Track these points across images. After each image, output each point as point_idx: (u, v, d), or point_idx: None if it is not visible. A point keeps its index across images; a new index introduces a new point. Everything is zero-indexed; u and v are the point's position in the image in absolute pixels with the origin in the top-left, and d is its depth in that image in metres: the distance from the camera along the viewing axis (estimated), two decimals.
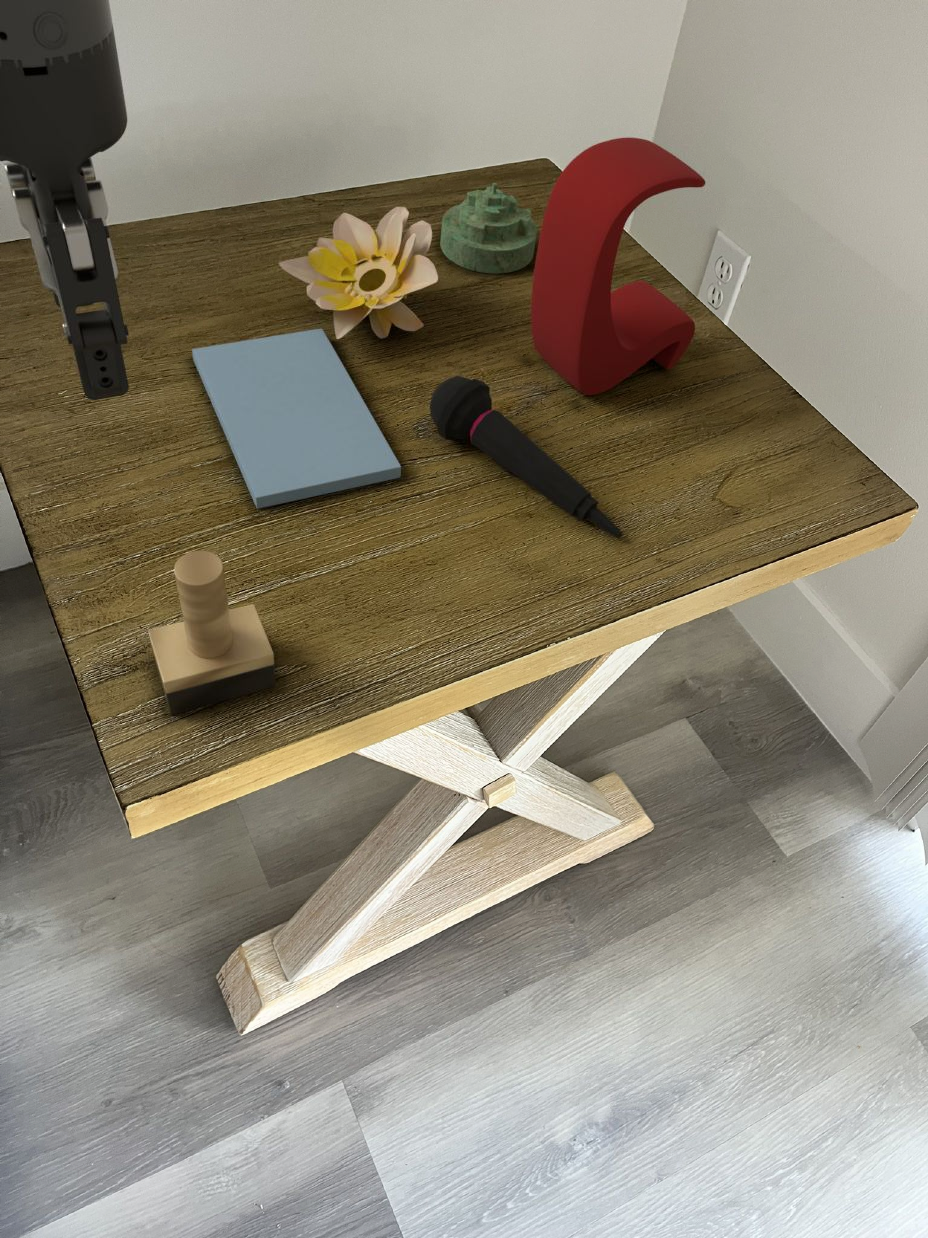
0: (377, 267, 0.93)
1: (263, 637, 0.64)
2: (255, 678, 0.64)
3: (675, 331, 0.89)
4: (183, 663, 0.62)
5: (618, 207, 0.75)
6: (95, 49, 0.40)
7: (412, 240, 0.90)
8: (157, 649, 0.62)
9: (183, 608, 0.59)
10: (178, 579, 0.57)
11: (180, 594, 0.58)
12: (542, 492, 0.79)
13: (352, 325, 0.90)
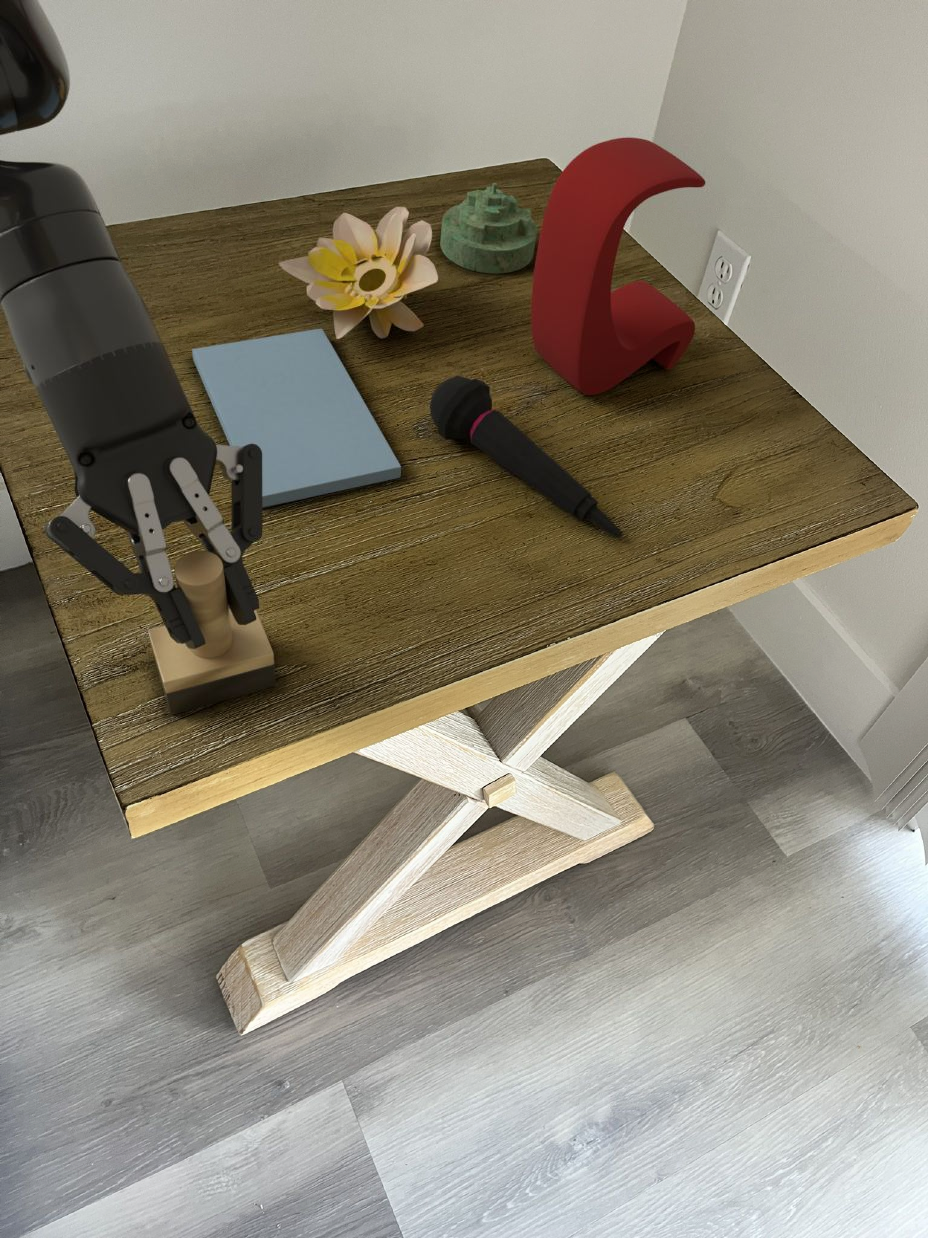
0: (377, 267, 0.93)
1: (263, 637, 0.64)
2: (255, 678, 0.64)
3: (675, 331, 0.89)
4: (183, 663, 0.62)
5: (618, 207, 0.75)
6: None
7: (412, 240, 0.90)
8: (157, 649, 0.62)
9: None
10: (178, 579, 0.57)
11: None
12: (542, 492, 0.79)
13: (352, 325, 0.90)
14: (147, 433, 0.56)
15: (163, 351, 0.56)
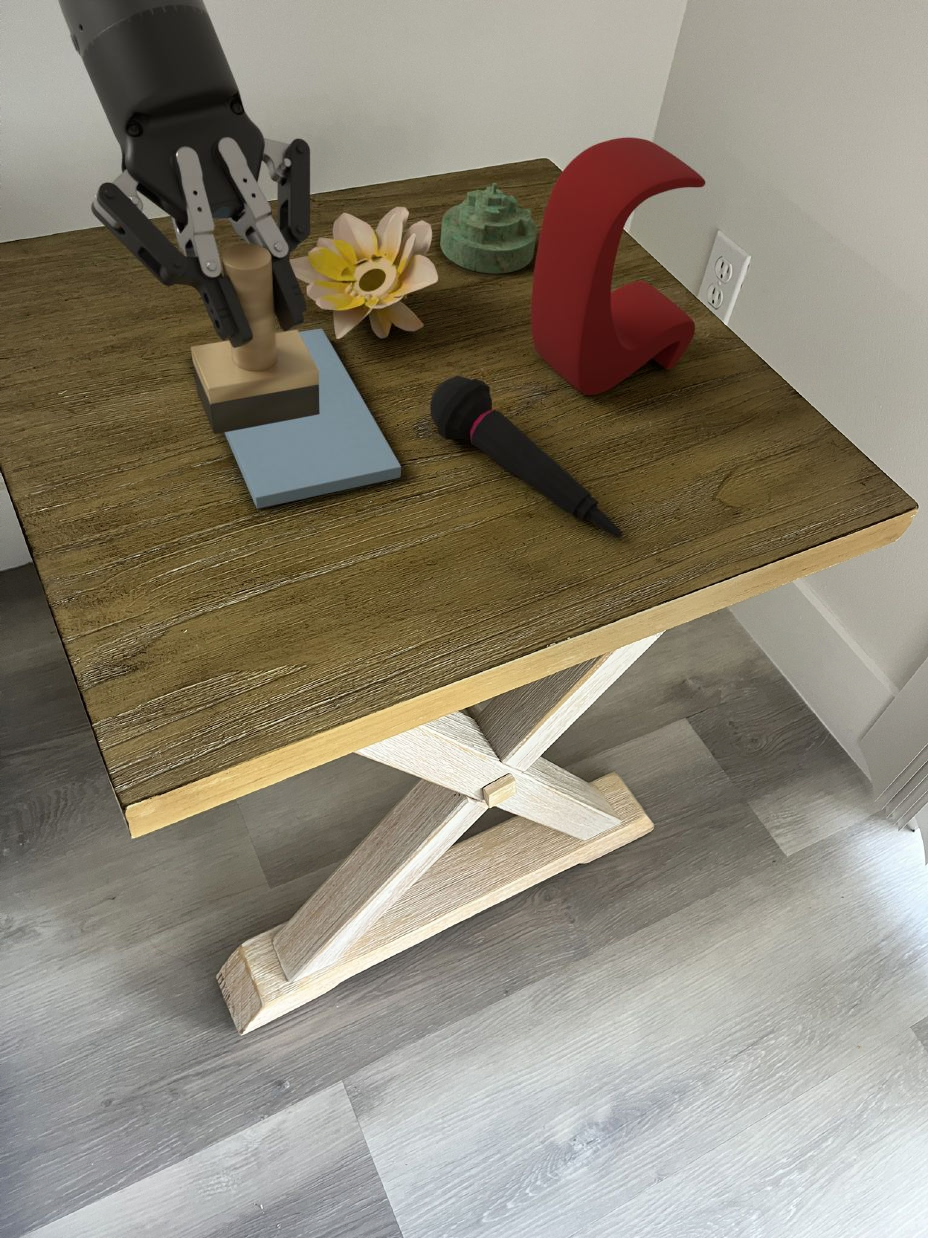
0: (377, 267, 0.93)
1: (308, 356, 0.62)
2: (299, 399, 0.63)
3: (675, 331, 0.89)
4: (228, 373, 0.61)
5: (618, 207, 0.75)
6: None
7: (412, 240, 0.90)
8: (201, 361, 0.61)
9: None
10: (226, 264, 0.56)
11: None
12: (542, 492, 0.79)
13: (352, 325, 0.90)
14: (195, 109, 0.55)
15: (212, 24, 0.55)
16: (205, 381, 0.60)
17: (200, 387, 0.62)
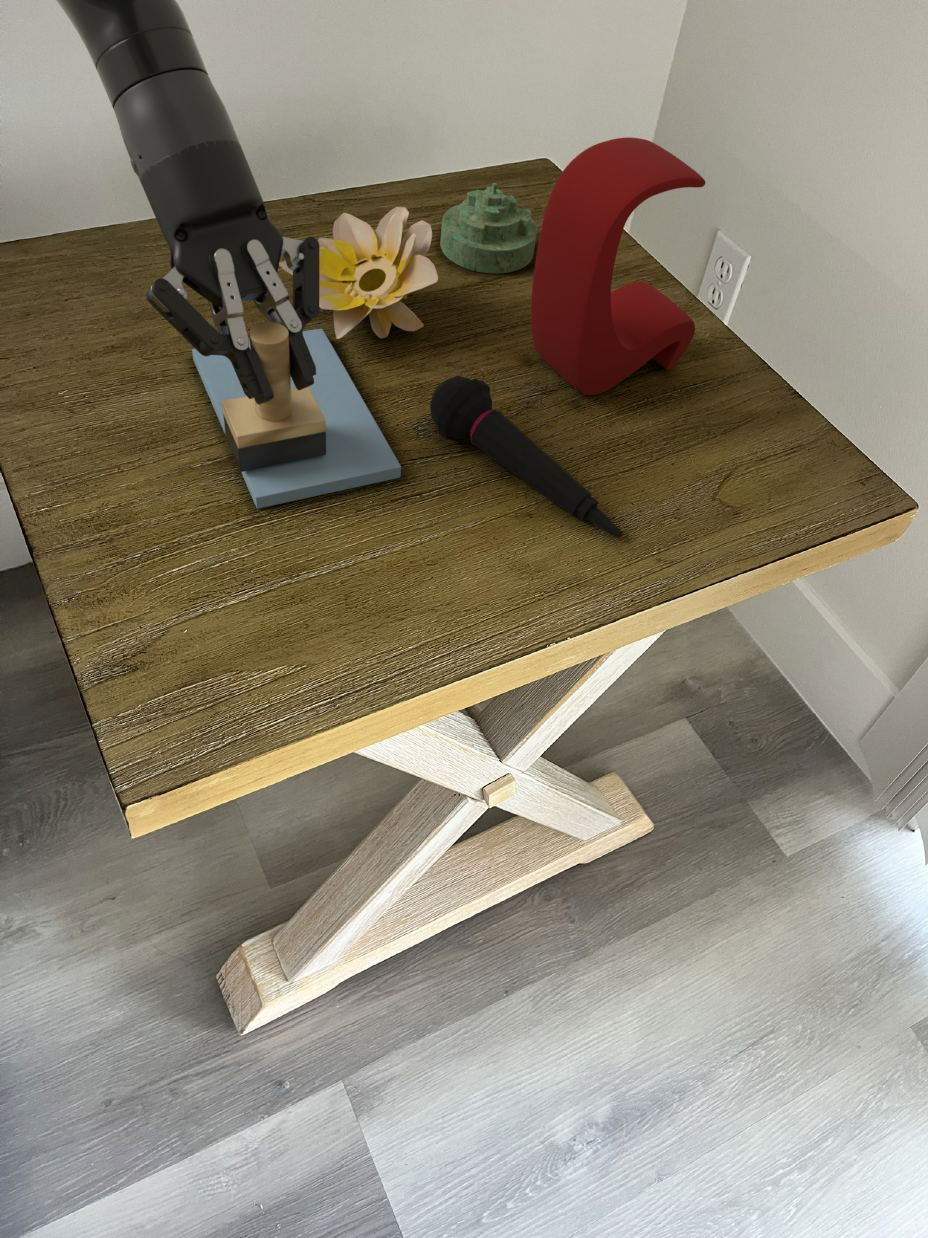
0: (377, 267, 0.93)
1: (317, 408, 0.77)
2: (310, 443, 0.77)
3: (675, 331, 0.89)
4: (252, 423, 0.75)
5: (618, 207, 0.75)
6: None
7: (412, 240, 0.90)
8: (230, 413, 0.75)
9: None
10: (253, 340, 0.70)
11: None
12: (542, 492, 0.79)
13: (352, 325, 0.90)
14: (229, 218, 0.69)
15: (242, 151, 0.69)
16: (234, 430, 0.74)
17: (229, 433, 0.77)
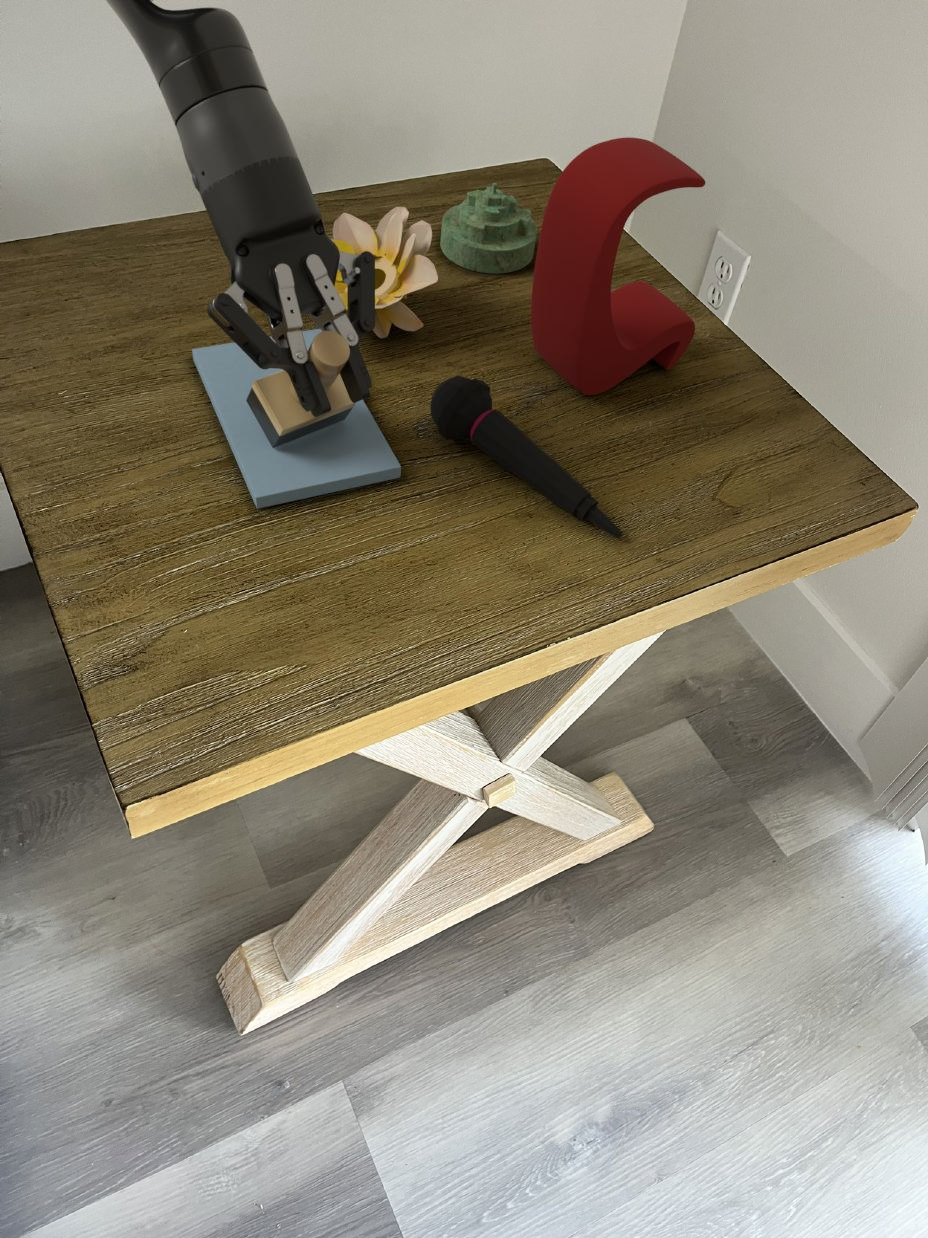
0: (377, 267, 0.93)
1: None
2: (336, 417, 0.80)
3: (675, 331, 0.89)
4: (292, 411, 0.76)
5: (618, 207, 0.75)
6: None
7: (412, 240, 0.90)
8: (268, 399, 0.76)
9: None
10: (318, 359, 0.71)
11: None
12: (542, 492, 0.79)
13: None
14: (289, 233, 0.70)
15: None
16: (277, 421, 0.76)
17: (260, 410, 0.77)
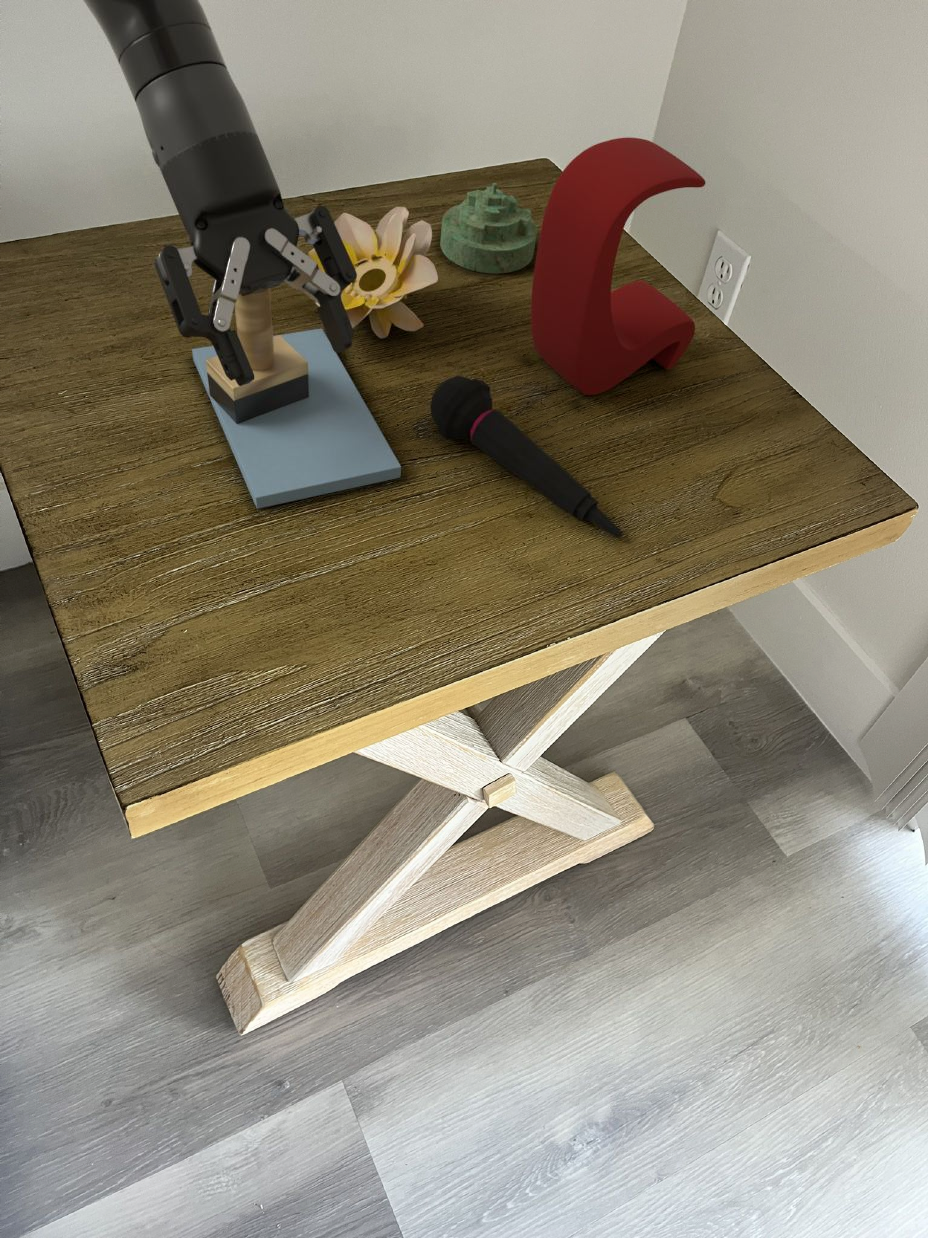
0: (377, 267, 0.93)
1: (296, 353, 0.81)
2: (295, 387, 0.82)
3: (675, 331, 0.89)
4: None
5: (618, 207, 0.75)
6: None
7: (412, 240, 0.90)
8: (218, 369, 0.79)
9: (241, 322, 0.76)
10: None
11: (239, 308, 0.75)
12: (542, 492, 0.79)
13: (352, 325, 0.90)
14: (247, 207, 0.71)
15: (260, 142, 0.71)
16: (228, 383, 0.78)
17: (217, 390, 0.80)
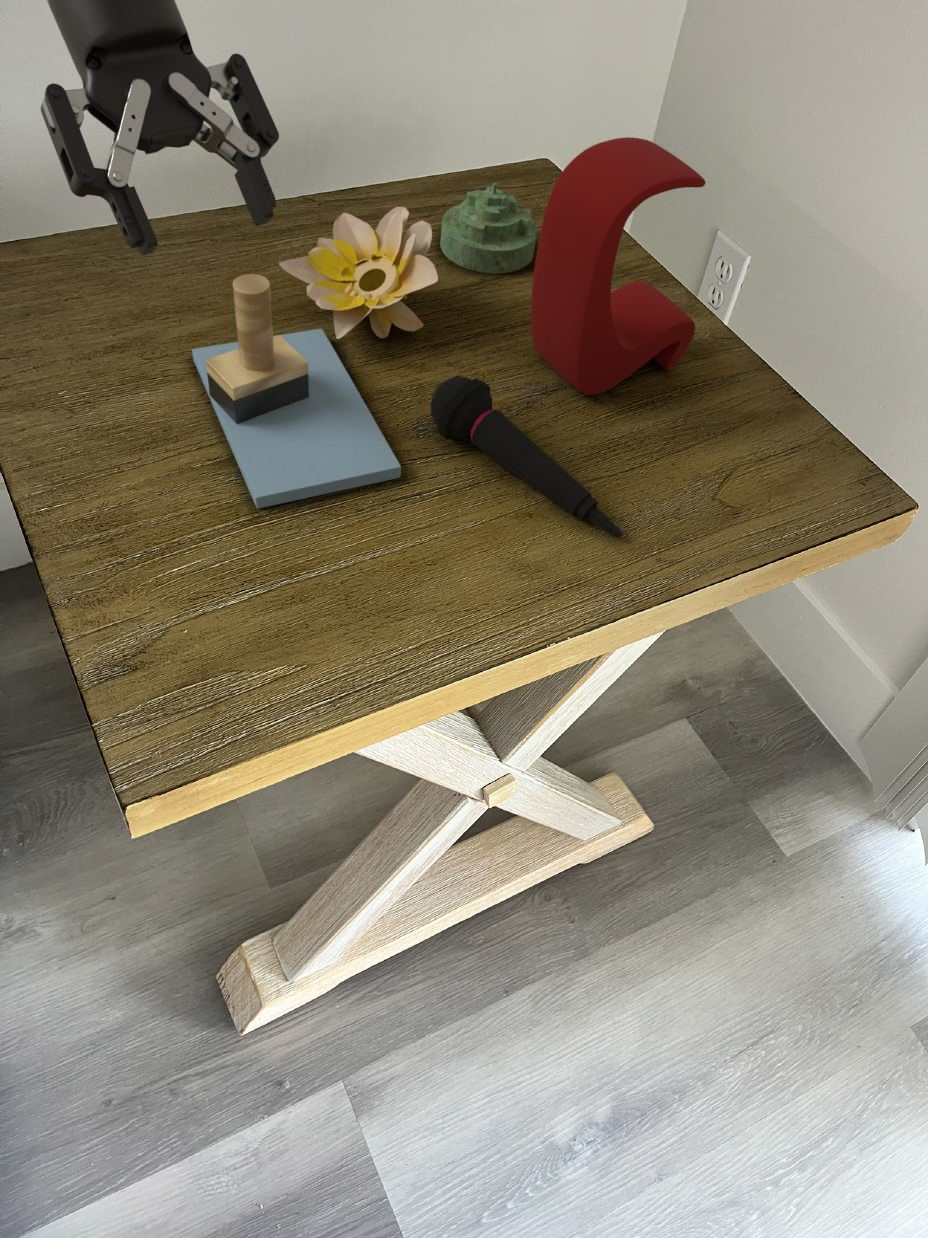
0: (377, 267, 0.93)
1: (296, 353, 0.81)
2: (295, 387, 0.82)
3: (675, 331, 0.89)
4: (242, 375, 0.79)
5: (618, 207, 0.75)
6: None
7: (412, 240, 0.90)
8: (218, 369, 0.79)
9: (241, 322, 0.76)
10: (239, 292, 0.74)
11: (239, 308, 0.75)
12: (542, 492, 0.79)
13: (352, 325, 0.90)
14: (148, 47, 0.62)
15: None
16: (228, 383, 0.78)
17: (217, 390, 0.80)
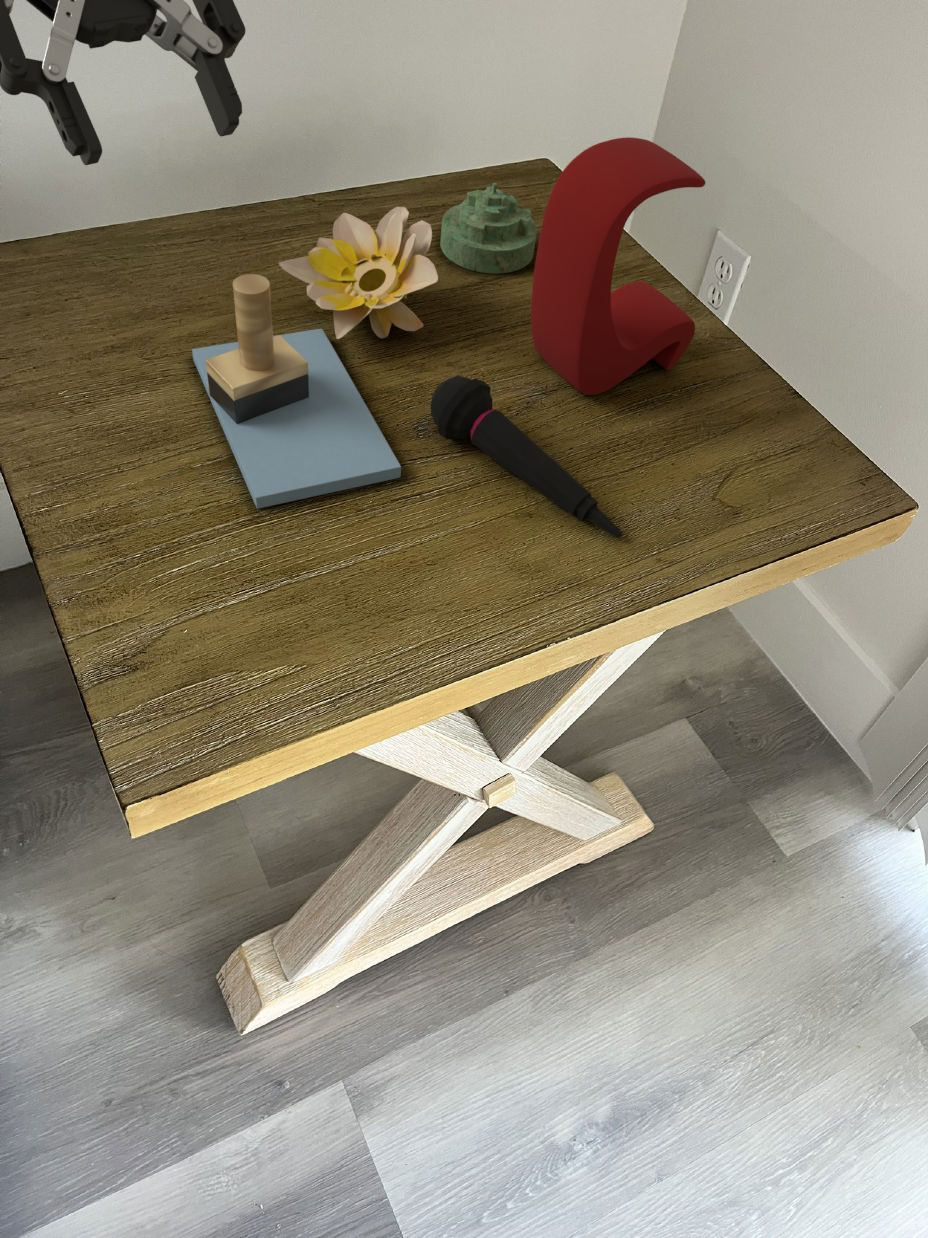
0: (377, 267, 0.93)
1: (296, 353, 0.81)
2: (295, 387, 0.82)
3: (675, 331, 0.89)
4: (242, 375, 0.79)
5: (618, 207, 0.75)
6: None
7: (412, 240, 0.90)
8: (218, 369, 0.79)
9: (241, 322, 0.76)
10: (239, 292, 0.74)
11: (239, 308, 0.75)
12: (542, 492, 0.79)
13: (352, 325, 0.90)
14: None
15: None
16: (228, 383, 0.78)
17: (217, 390, 0.80)
